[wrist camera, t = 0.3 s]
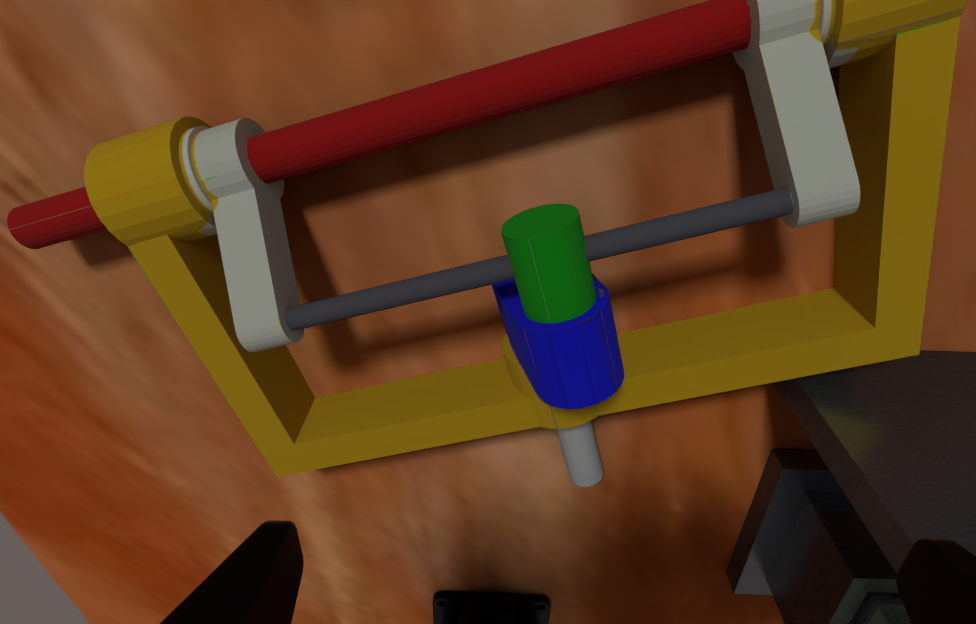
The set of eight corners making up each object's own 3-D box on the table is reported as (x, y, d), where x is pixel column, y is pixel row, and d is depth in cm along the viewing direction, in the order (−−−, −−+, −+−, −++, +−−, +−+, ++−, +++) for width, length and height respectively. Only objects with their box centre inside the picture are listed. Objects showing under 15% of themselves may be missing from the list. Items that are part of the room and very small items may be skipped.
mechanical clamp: (-136, 227, 15) (1163, -173, 10) (31, 161, 21) (939, -123, 16) (211, 619, 24) (997, 502, 19) (265, 501, 30) (890, 386, 25)
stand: (924, 579, 30) (1166, 933, 19) (697, 571, 31) (808, 916, 19) (1073, 355, 23) (1609, 718, 12) (772, 345, 23) (1020, 695, 12)
